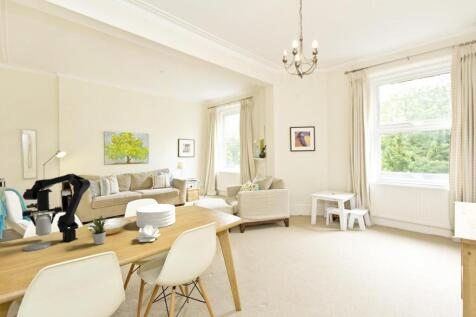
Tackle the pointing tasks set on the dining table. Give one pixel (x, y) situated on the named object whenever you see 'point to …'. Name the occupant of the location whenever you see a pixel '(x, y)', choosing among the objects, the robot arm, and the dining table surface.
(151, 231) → the lotus flower
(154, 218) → the plate stack
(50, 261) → the dining table surface
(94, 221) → the house plant
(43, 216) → the can
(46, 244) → the coaster
